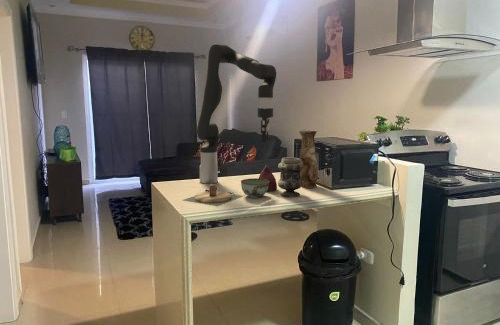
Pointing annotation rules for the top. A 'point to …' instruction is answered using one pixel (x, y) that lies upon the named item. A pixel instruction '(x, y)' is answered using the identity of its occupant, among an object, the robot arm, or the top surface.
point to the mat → (213, 203)
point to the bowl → (255, 187)
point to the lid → (212, 196)
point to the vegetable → (269, 178)
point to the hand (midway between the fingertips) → (265, 141)
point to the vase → (308, 159)
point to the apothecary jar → (290, 176)
